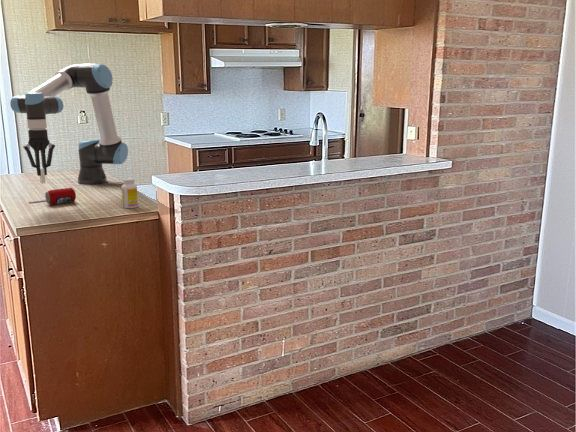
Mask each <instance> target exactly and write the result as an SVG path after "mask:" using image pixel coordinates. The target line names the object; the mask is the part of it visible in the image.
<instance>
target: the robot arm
mask: <svg viewBox="0 0 576 432" xmlns="http://www.w3.org/2000/svg"><path fill="white" fill-rule="evenodd" d="M113 81H114V80H113V74H112V71H111V70H110V68H109V67H108V66H107V65H106V64H103V63H75V64H71V65H69V66H65V67H64V68H62V69H60V70H58V71H57V72H55V74H54V76H53V77H51V78H50V79H48V80H47V81H44V82H43V83H41V84H40V85H38V86H37V87H35V88H33V89H32V90H30V91H28V92H26V93H25V94H23V95H14V96H13V97H12V98H11V99H10V108H11V110H12V112H14V113H17V114H26V121H27V129H28V142H27V143H28V144H25V145H23V146H22V148H23V149H24V150H25V152H26V154H27V158H28V160H29V163H30V165H31V167H32V168H35V169H36V175H37V176H38V177H39V182H40V184H46V176H48V171H47V169H48V167H51V165H52V159H53V152H54V149H55V148H56V145H55V143H54V144H53V143H51V142H50V139H49V137H48V129H47V128H48V127H47V126H48V124H47V116H46V115H53V114H54V115H56V114H59V113H62V111H63V110H64V102H63V100H62V99H61V98H60V97H59V96H57V95H59V94H60V93H63V92H64V91H69V90H71V89H73V88H74V89H75V88H84V89H85V91H86V94H87V95H89V96H90V98H91V103H92V106H93V107H92V108H93V111H94V115H95V120H96V124H97V128H98V133H99V136H100V139H99V138H98V139H90V140H83V141H80V142H78V148H77V149H78V158H79V159H78V160H79V172H78V175H77V183H78V184H81V185H82V184H83V185H97V184H103V183H107V181H108V180H107V179H108V178H107V175H106V173H105V170H104V167H103V165H106V164H107V165H115V166H116V165H123V164H124V163H125V162H126V160H127V158H128V155H129V149H128V148H129V147H128V145H127V143H125V142H123V141H122V137H120V136H119V135H118V131H117V128H116V125H115V119H114V115H113V111H112V105H111V102H110V101H111V100H110V98H109V97H110V96H109V92H110V90H111V87H112V86H113ZM47 147H48V153H47V156H46V149H47ZM31 149H32V150H33V151H34V152H33V153H34V157H33V154H32V152H31ZM40 155H41V156H40ZM40 157H41V161H40ZM41 166H42V167H41Z"/></svg>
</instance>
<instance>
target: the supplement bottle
mask: <svg viewBox="0 0 576 432" xmlns="http://www.w3.org/2000/svg"><path fill="white" fill-rule="evenodd" d="M122 181H123V184H122V185H121V198H122V199H121V200H122V207H123V208H124V209H135V208H138V207H139V200H138V186H137V184H135V178H134V177H133V178H132V177H130V178H129V177H128V178H122Z"/></svg>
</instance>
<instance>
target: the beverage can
mask: <svg viewBox="0 0 576 432" xmlns="http://www.w3.org/2000/svg"><path fill="white" fill-rule="evenodd" d="M44 194H45V195H44V196H45V200H46V201H45V202H46V203H47V204H48V205H51V206H53V205H61V204H68V203H74V202H75V201H76V198H77V195H76V191H75V189H74V188H73V187H66V188H64V187H63V188H58V189H50V190H48V191H47V192H45V193H44Z"/></svg>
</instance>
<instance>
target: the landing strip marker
mask: <svg viewBox="0 0 576 432" xmlns="http://www.w3.org/2000/svg"><path fill="white" fill-rule="evenodd" d="M45 202H46V199H44V200H36V201H35V200H34V201H28V204H35V203H45Z"/></svg>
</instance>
